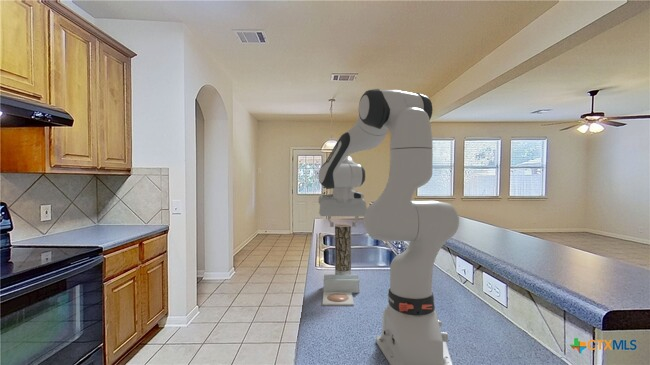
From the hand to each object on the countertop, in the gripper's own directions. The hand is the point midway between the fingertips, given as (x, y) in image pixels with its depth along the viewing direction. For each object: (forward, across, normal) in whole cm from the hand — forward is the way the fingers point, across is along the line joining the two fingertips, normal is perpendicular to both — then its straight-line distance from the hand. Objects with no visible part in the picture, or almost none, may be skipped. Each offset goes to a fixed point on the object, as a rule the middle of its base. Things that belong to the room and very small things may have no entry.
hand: (342, 226), depth 136 cm
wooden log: (+24, 0, 0) cm, 24 cm away
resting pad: (+24, -2, -19) cm, 30 cm away
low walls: (+24, -1, -9) cm, 25 cm away
